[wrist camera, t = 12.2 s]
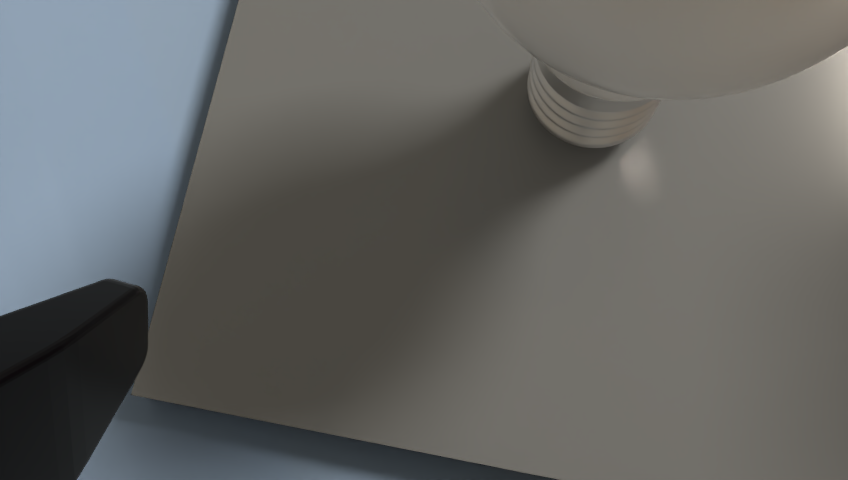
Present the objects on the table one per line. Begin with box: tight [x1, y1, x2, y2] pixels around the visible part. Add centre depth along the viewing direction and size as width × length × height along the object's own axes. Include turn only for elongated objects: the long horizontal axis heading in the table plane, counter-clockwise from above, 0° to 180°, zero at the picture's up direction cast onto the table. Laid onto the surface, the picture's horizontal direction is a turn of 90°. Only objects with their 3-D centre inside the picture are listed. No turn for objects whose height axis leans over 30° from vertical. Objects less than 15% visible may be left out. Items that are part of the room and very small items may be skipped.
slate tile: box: [131, 0, 848, 480], centre depth 18 cm, size 16×16×1 cm
